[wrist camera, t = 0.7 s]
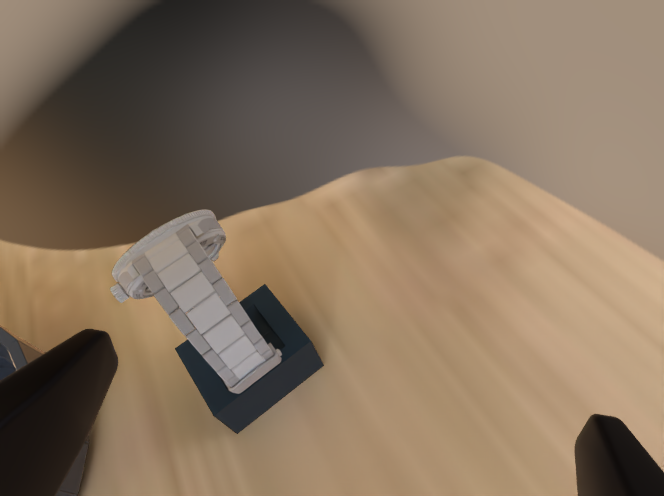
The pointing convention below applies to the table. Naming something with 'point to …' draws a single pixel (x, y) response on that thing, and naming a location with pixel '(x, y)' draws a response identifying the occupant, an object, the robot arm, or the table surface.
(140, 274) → the watch
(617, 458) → the robot arm
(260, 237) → the table surface
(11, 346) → the bowl
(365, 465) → the table surface
